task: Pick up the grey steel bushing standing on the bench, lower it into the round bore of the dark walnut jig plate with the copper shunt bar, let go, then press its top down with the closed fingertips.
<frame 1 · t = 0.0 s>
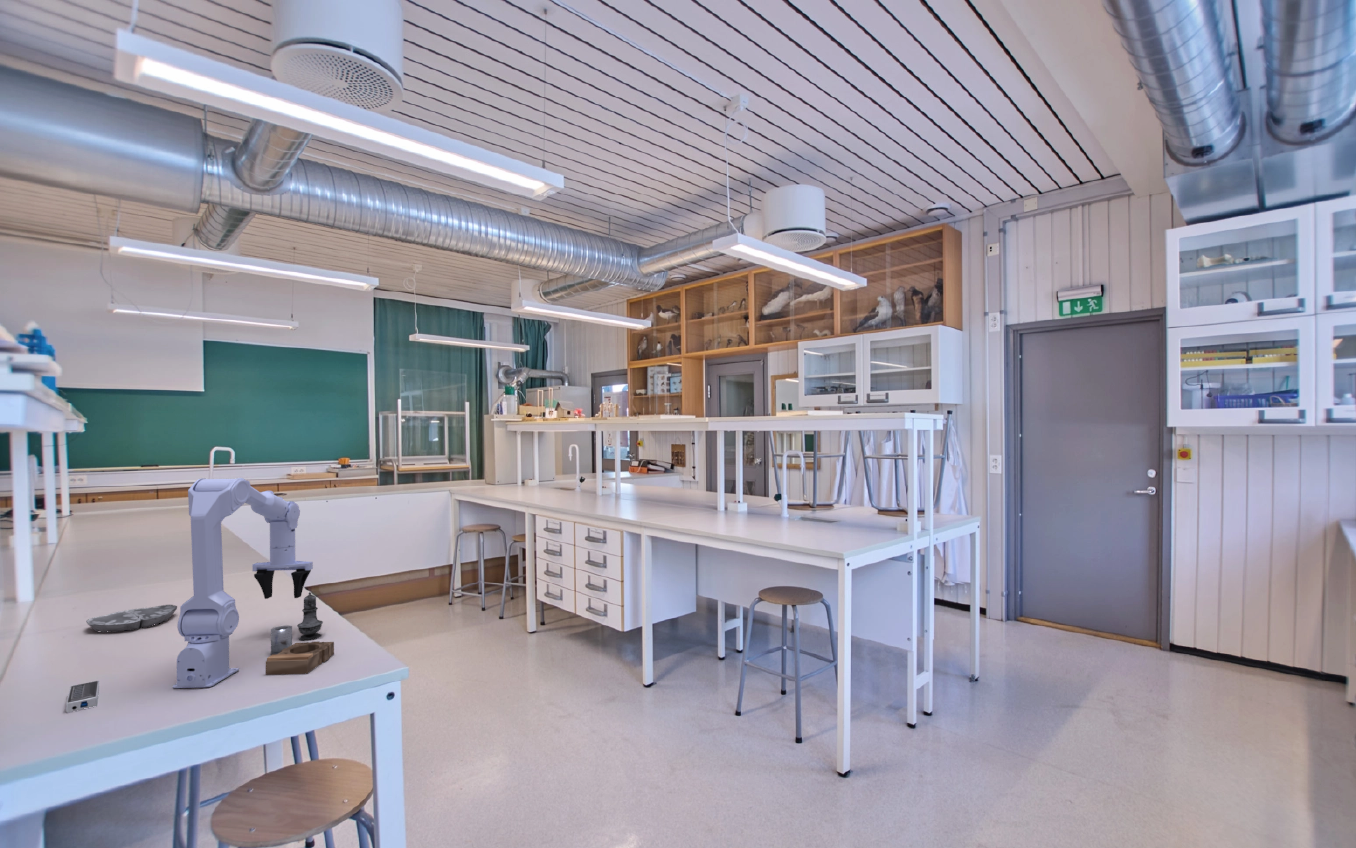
hand: (283, 597, 165), 10 cm above the lab bench, tool pointing down, fingers open, 7 cm apart
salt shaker: (310, 638, 164), on the lab bench
multiport hub: (83, 703, 126), on the lab bench
brain slice: (135, 626, 176), on the lab bench
jig: (301, 664, 145), on the lab bench
bushing: (281, 652, 153), on the lab bench
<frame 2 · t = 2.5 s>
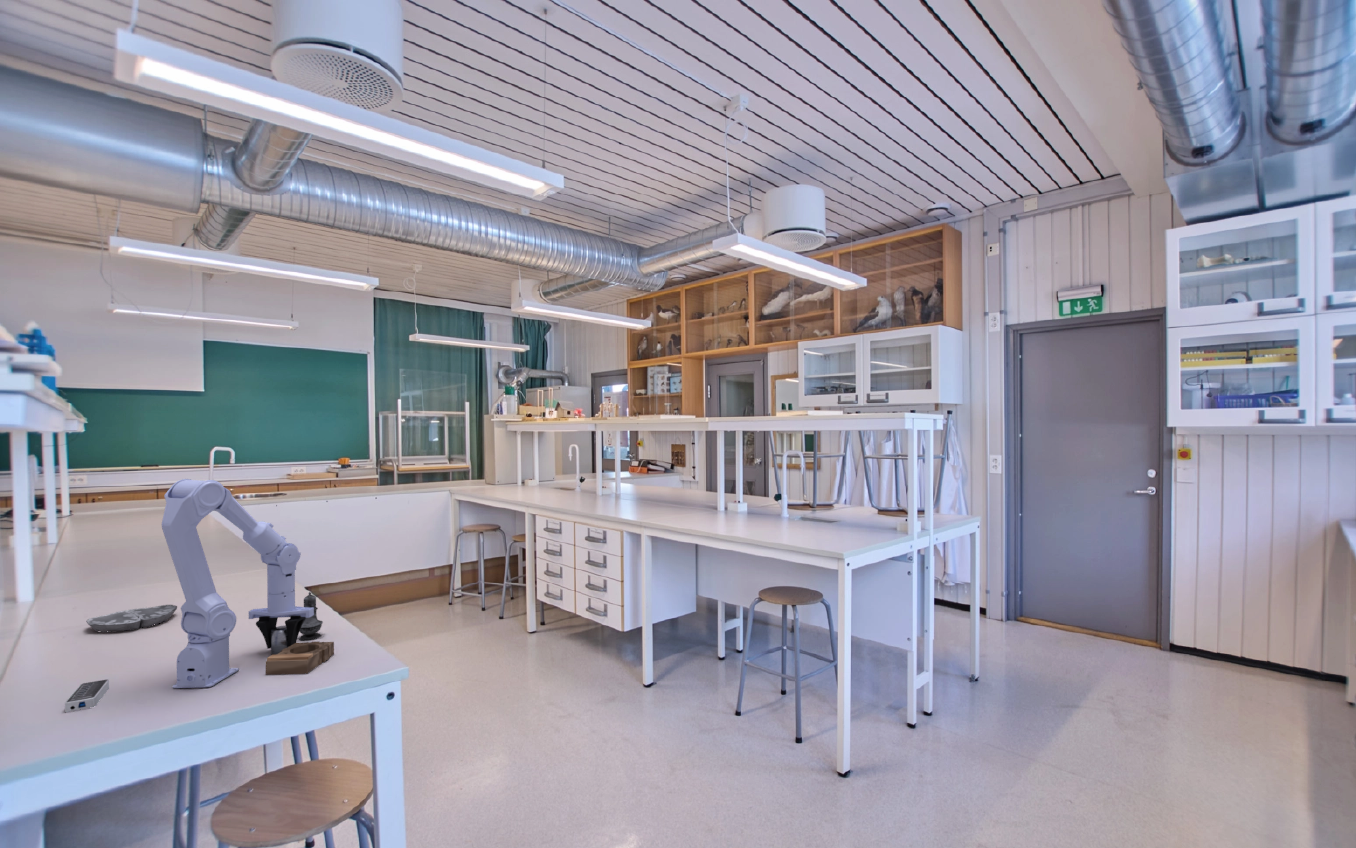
hand: (281, 646, 153), 1 cm above the lab bench, tool pointing down, fingers closed on bushing, 4 cm apart
bushing: (281, 652, 153), on the lab bench, touching gripper
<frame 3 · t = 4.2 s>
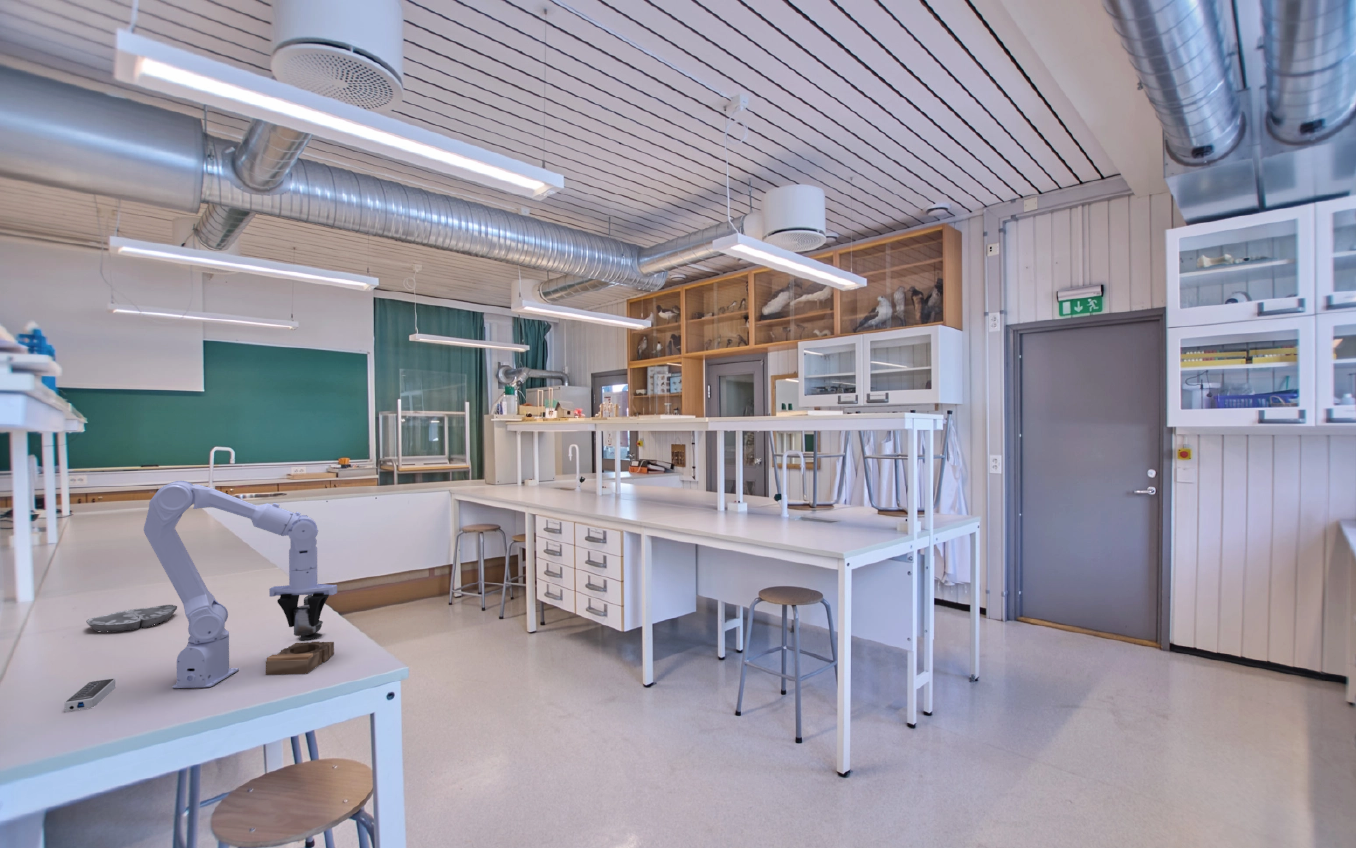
hand: (303, 625, 147), 8 cm above the lab bench, tool pointing down, fingers closed on bushing, 4 cm apart
bushing: (304, 632, 147), point 7 cm above the lab bench, touching gripper
when the fingers open (4 cm above the lab bench, at t = 5.8 s): bushing drops 2 cm, resting in jig.
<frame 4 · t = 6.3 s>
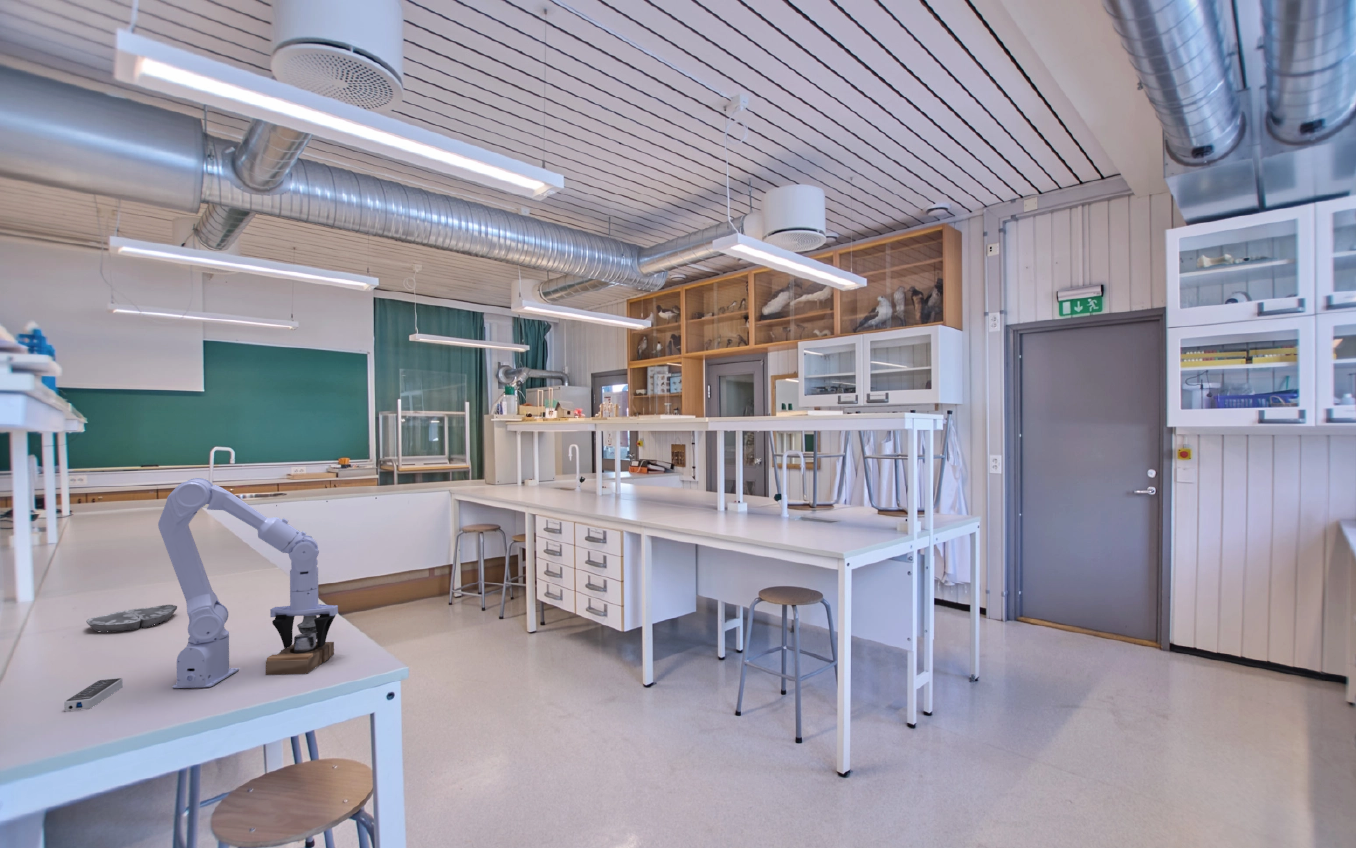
hand: (304, 646, 147), 4 cm above the lab bench, tool pointing down, fingers open, 7 cm apart
bushing: (305, 661, 147), resting in jig
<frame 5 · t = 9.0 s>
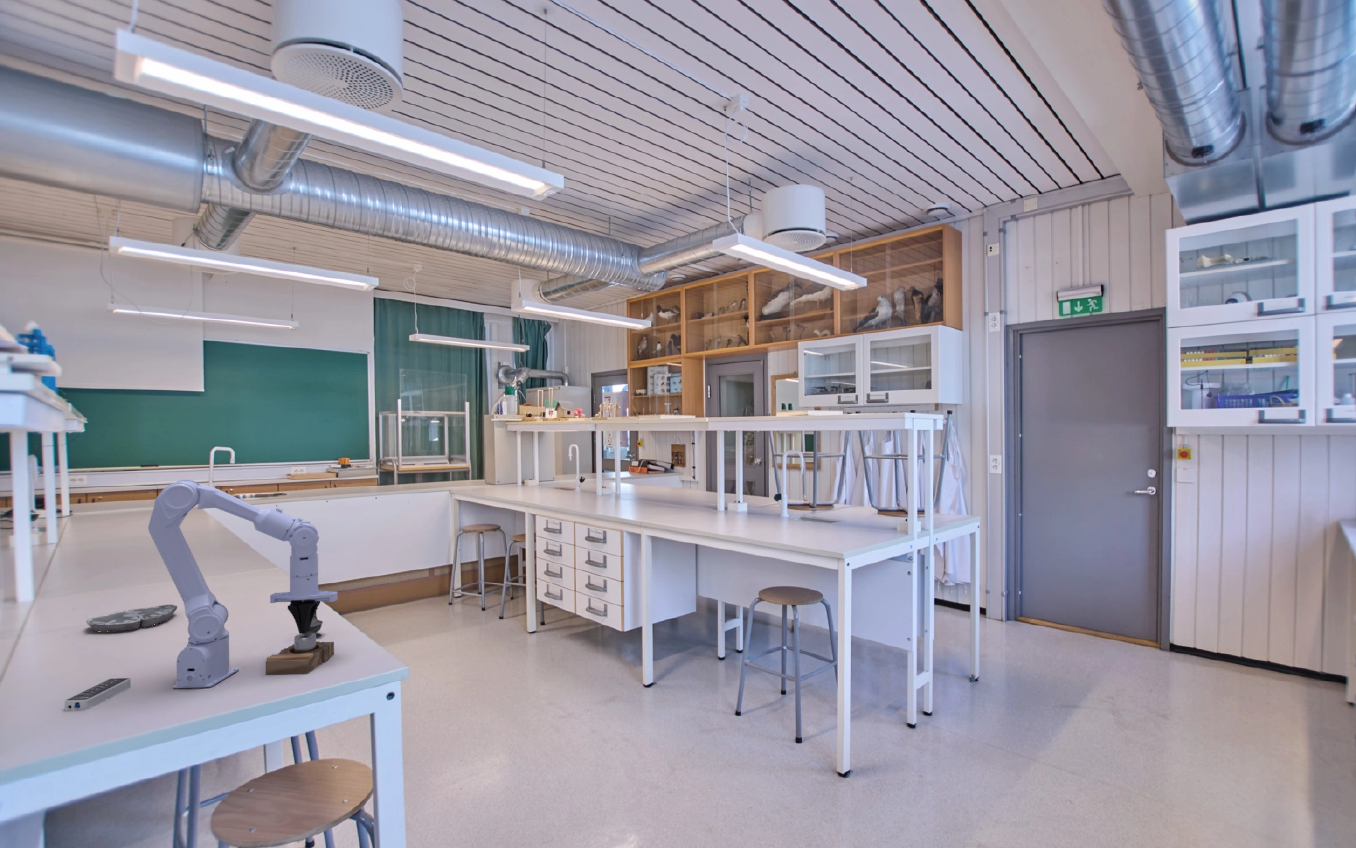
hand: (304, 632, 147), 7 cm above the lab bench, tool pointing down, fingers closed
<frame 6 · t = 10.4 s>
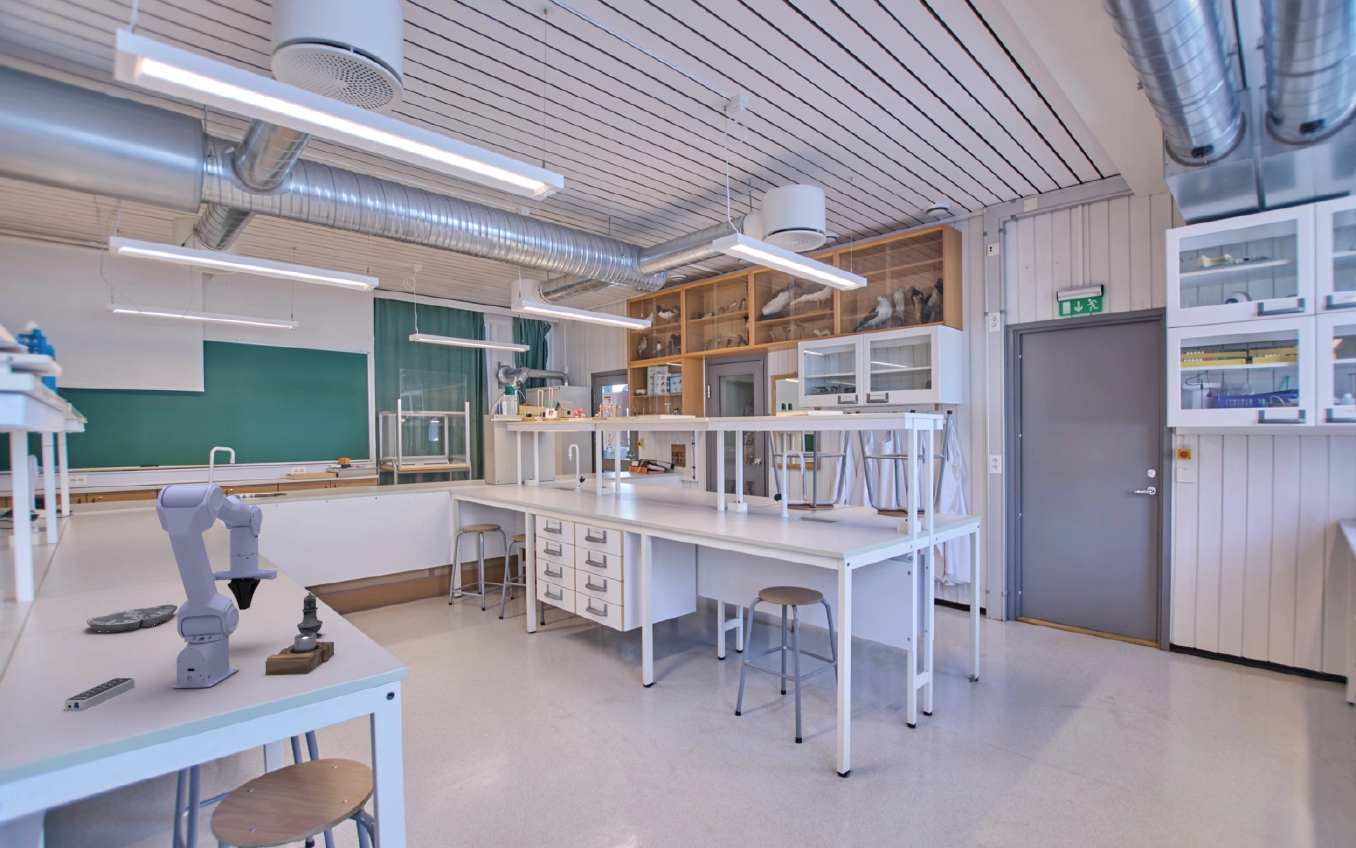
hand: (244, 608, 154), 10 cm above the lab bench, tool pointing down, fingers closed
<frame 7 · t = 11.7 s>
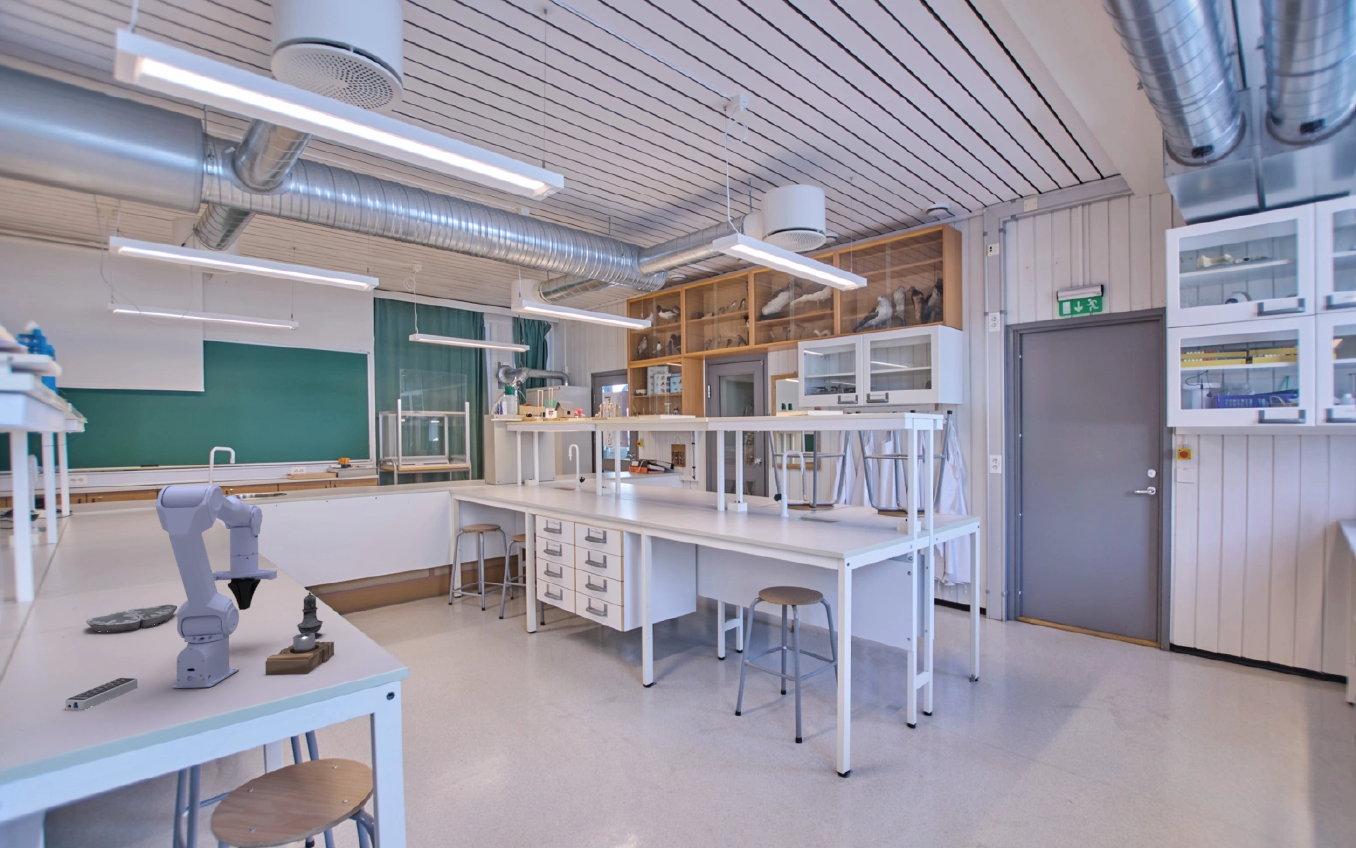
hand: (244, 608, 154), 10 cm above the lab bench, tool pointing down, fingers closed
at the end: bushing 0.4 cm from the target spot on the jig, point 0.0 cm above the jig's base; bushing tilted 2°; the gripper is holding nothing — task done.
